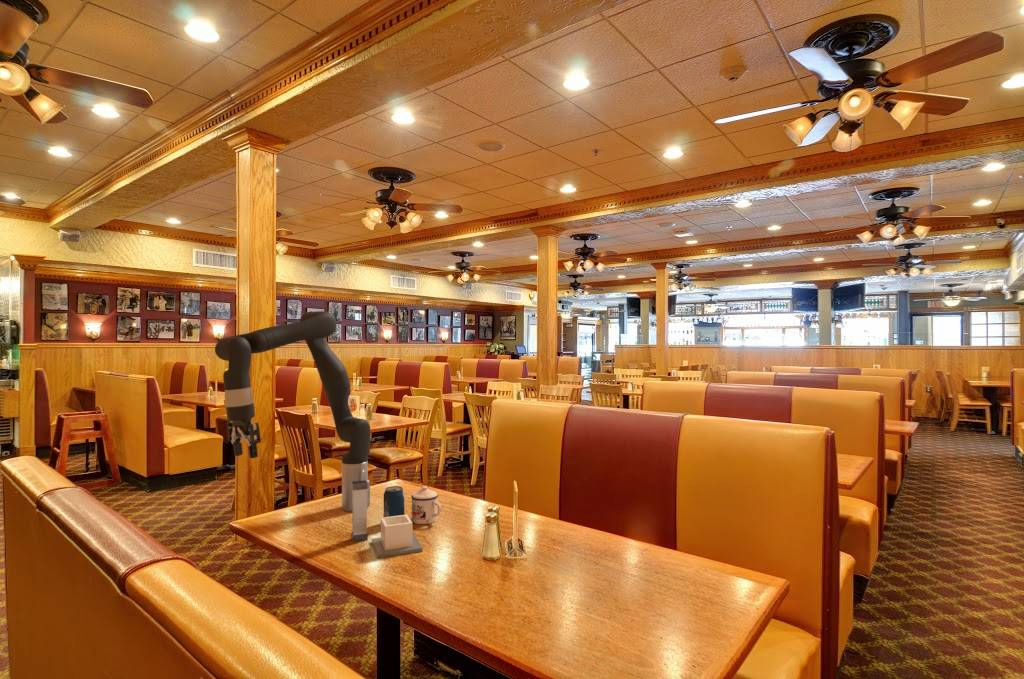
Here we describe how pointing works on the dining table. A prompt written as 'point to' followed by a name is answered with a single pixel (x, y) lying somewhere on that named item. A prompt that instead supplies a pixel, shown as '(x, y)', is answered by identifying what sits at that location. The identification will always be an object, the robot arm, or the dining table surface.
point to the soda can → (393, 501)
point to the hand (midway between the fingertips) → (246, 456)
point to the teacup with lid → (425, 506)
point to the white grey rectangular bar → (359, 510)
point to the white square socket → (396, 537)
